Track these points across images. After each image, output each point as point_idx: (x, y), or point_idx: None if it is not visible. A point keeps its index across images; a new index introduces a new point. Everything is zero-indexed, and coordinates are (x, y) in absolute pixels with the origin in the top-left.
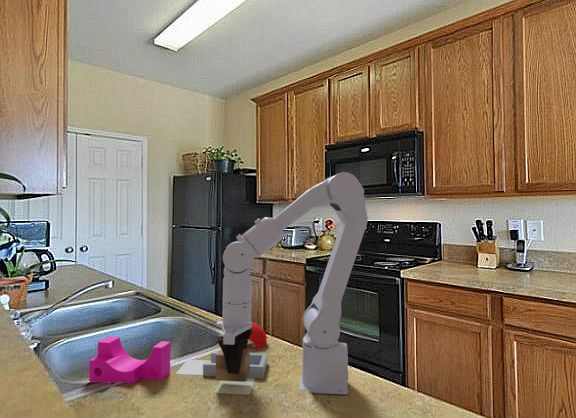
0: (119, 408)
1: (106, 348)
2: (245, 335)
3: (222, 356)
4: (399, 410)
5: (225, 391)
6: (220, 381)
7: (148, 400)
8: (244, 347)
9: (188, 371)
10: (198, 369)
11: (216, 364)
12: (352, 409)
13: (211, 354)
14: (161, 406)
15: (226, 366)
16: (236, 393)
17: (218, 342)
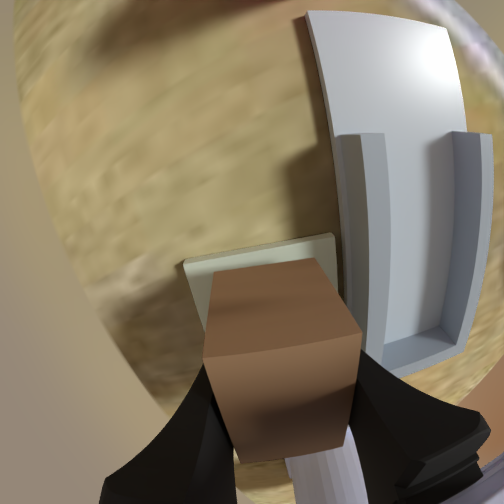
0: (33, 21)
1: None
2: (370, 493)
3: (213, 386)
4: (259, 499)
5: (208, 300)
6: (289, 245)
7: (82, 47)
8: (353, 435)
9: (352, 56)
10: (384, 94)
11: (207, 320)
12: (242, 481)
13: (476, 134)
14: (58, 118)
15: (198, 375)
16: None
17: (102, 489)
